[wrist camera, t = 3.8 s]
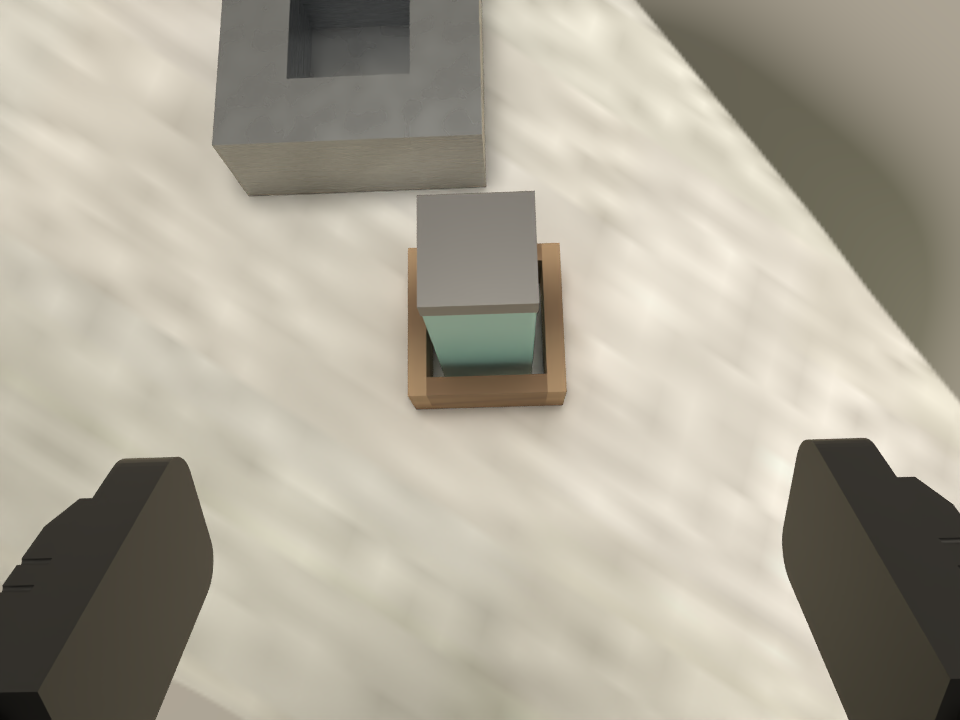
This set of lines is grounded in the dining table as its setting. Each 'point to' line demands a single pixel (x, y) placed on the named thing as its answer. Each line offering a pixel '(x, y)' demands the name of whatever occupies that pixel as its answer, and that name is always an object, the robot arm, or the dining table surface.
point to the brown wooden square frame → (492, 387)
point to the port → (350, 95)
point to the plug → (479, 280)
